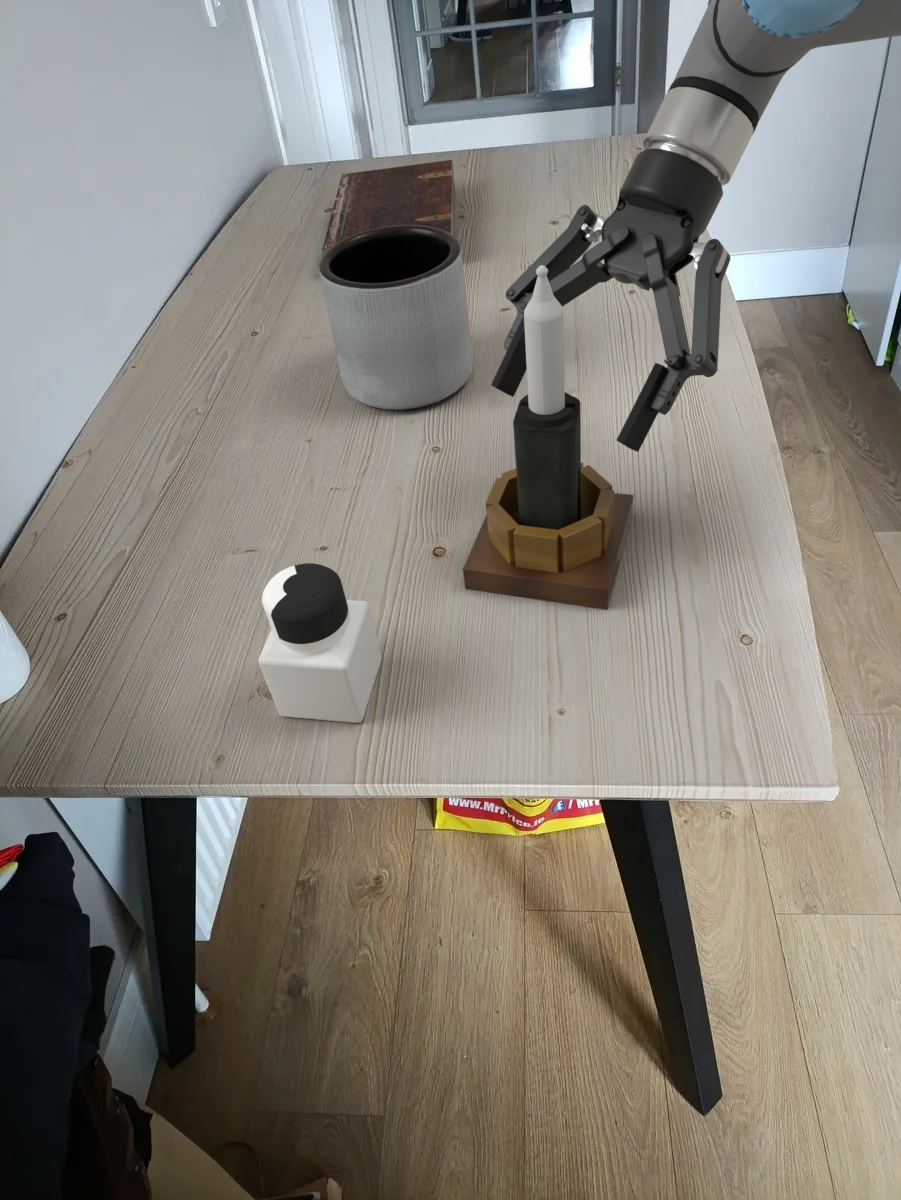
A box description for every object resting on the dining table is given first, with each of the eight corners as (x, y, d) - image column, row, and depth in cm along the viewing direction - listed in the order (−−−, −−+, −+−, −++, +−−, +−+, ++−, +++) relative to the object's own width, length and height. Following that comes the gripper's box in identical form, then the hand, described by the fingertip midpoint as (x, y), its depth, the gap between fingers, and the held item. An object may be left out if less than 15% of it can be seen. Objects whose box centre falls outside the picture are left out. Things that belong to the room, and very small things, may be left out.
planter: (368, 342, 114) (345, 222, 103) (487, 347, 110) (477, 222, 99) (325, 412, 103) (294, 286, 92) (455, 419, 99) (440, 289, 88)
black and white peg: (575, 550, 78) (572, 282, 61) (518, 546, 79) (500, 282, 62) (582, 514, 82) (581, 250, 64) (528, 510, 83) (513, 250, 65)
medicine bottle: (383, 658, 75) (357, 554, 67) (362, 725, 70) (332, 622, 62) (304, 652, 76) (269, 550, 68) (278, 718, 72) (238, 616, 63)
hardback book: (345, 202, 149) (339, 172, 146) (455, 191, 148) (452, 159, 144) (327, 279, 129) (320, 245, 125) (454, 266, 127) (450, 232, 124)
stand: (632, 515, 85) (635, 460, 80) (607, 610, 76) (609, 554, 72) (503, 500, 88) (498, 446, 84) (465, 588, 80) (457, 535, 75)
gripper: (841, 224, 65) (704, 483, 69) (581, 165, 79) (479, 383, 83) (818, 174, 59) (669, 461, 63) (540, 119, 73) (432, 357, 77)
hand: (561, 417), depth 73 cm, fingers open, 13 cm apart
